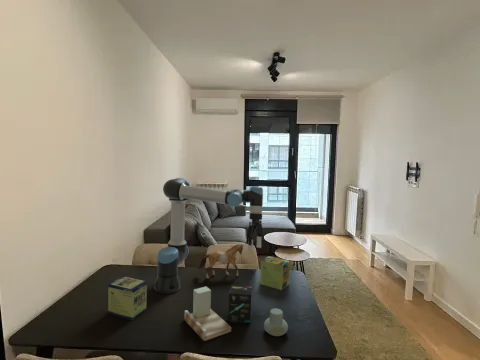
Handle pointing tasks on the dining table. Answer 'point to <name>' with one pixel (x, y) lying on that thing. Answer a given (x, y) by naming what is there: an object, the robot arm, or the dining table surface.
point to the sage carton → (201, 301)
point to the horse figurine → (221, 258)
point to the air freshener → (276, 323)
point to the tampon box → (240, 304)
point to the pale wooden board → (207, 325)
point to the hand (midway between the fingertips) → (254, 249)
